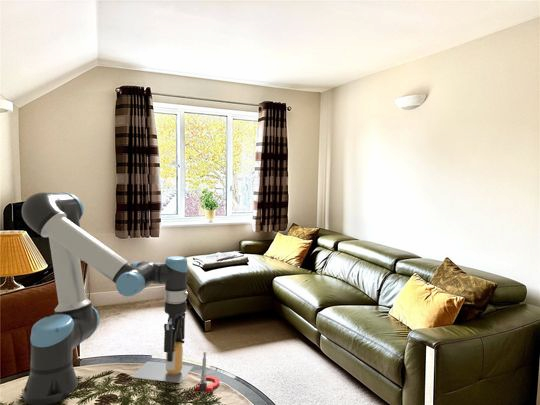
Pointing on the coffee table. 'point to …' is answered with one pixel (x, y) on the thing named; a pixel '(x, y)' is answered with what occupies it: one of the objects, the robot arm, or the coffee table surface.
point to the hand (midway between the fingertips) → (174, 365)
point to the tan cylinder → (176, 358)
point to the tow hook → (203, 384)
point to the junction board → (161, 372)
